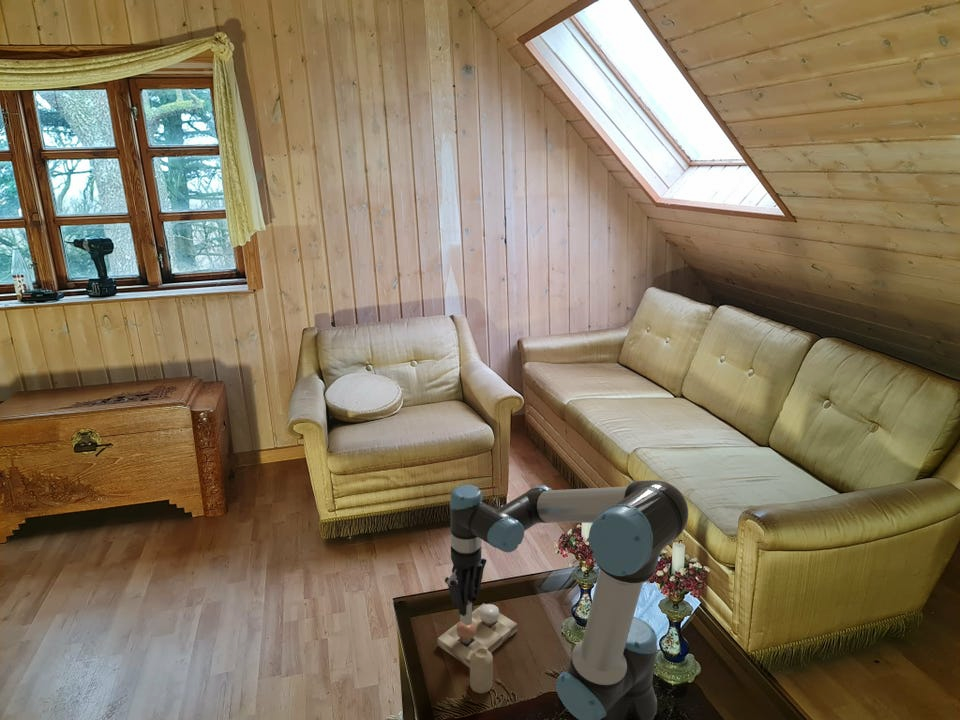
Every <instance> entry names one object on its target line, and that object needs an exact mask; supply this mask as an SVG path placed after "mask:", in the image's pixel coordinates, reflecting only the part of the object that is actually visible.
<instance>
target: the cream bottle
mask: <svg viewBox="0 0 960 720" xmlns="http://www.w3.org/2000/svg"><path fill="white" fill-rule="evenodd" d="M493 661H494V656H493V654H492V653H490V652H489V651H488V650H486V649H484V648H480V649H477V650H475V651H473V652H472V653H471V655H470V668H469V686H470V688H471V690H472V691H473V692H475V693H478V694H486V693H488V692H489V691H491V689H492V687H493V681H494V680H493V679H494V678H493V676H494V675H493V674H494V669H493V667H494V662H493Z"/></svg>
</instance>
